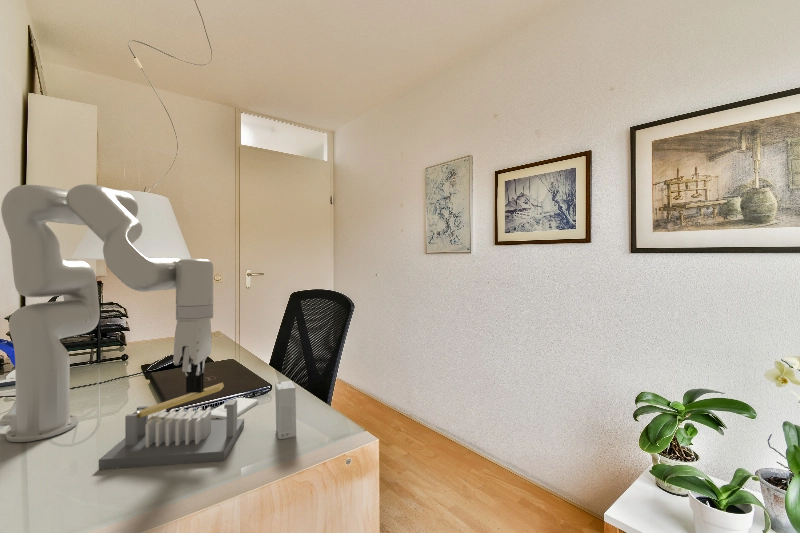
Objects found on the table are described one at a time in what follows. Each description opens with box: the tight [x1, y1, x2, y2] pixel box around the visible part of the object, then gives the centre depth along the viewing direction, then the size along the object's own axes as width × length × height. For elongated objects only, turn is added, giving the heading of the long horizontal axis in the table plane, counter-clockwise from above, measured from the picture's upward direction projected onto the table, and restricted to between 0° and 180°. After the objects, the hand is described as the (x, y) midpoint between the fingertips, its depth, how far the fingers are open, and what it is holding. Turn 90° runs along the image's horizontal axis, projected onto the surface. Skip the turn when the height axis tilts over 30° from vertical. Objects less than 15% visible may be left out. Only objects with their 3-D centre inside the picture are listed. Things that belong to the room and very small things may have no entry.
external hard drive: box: [211, 397, 259, 420], centre depth 103 cm, size 2×8×12 cm
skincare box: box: [274, 380, 297, 440], centre depth 90 cm, size 6×4×12 cm
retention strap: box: [132, 382, 225, 419], centre depth 83 cm, size 20×3×2 cm, turn 99°
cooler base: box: [98, 399, 245, 470], centre depth 83 cm, size 24×16×10 cm, turn 99°
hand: (195, 391), depth 83 cm, fingers closed
